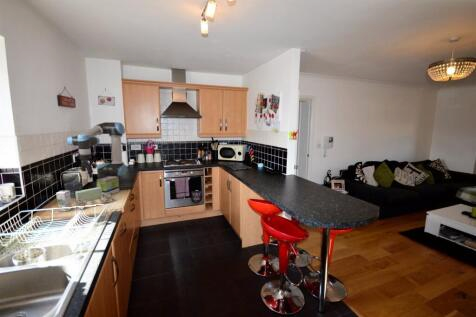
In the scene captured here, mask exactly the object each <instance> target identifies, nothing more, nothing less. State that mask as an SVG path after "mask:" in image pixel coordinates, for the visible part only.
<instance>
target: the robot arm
mask: <svg viewBox="0 0 476 317" xmlns="http://www.w3.org/2000/svg"><path fill="white" fill-rule="evenodd" d="M125 131H126V128H125V126H124V124H123V123H122V122H119V121H118V122H117V121H116V122H115V121H113V122H111V121H110V122H107V121H106V122H101V123H98V124H96V125H94V126H93V127H92V128H90V129H88V130H86V131H83V132H81V133H79V134H77V135H74V136H68V137H67V139H66V142H67V145H69V146H74V147H76V146H78V151H77V152H78V154H79V160H80V171H81V175H82V180H87V182H88V183H91V182H93V181H94V180H93V179H94V178H93V173H94V171H93V166H92V162H91V159H92V152H91V146H97V145H100V138H99V137H98V136H101V135H108V136H109V137H110V139H111V140H110V142H111V159H112V162H105V163H99V164H98V165H97V166H96V171H97V180H98V179H101V178H105V177H109V176H114V177H123V176H124V175H126V173H127V170H128V167H127V165H126V164H125V161H123V154H122V153H123V152H122V151H123V150H122V149H123V148H122V137H123V135H124V134H125Z"/></svg>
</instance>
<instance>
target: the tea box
mask: <svg viewBox="0 0 476 317" xmlns="http://www.w3.org/2000/svg"><path fill="white" fill-rule="evenodd" d="M119 180H120V179H119V176H109V177H105V178H101V179H98V178H97V179H96V188H97V187H101V188H102V194H105V193H108V194H110V195H111V196H112V195H114V194H117V193H119V192H120V185H119V184H120V182H119Z"/></svg>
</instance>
